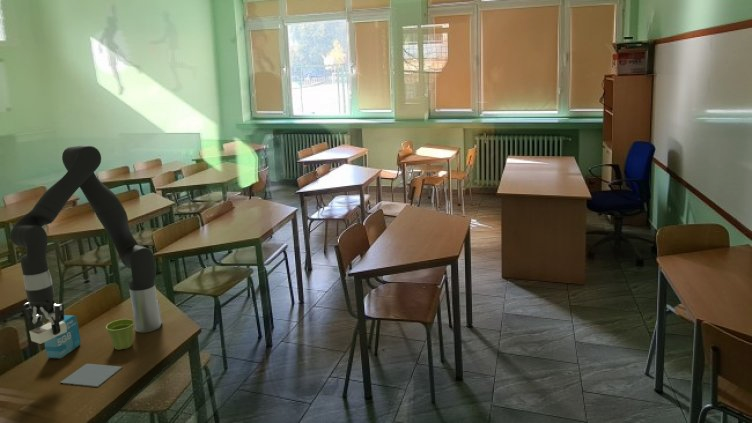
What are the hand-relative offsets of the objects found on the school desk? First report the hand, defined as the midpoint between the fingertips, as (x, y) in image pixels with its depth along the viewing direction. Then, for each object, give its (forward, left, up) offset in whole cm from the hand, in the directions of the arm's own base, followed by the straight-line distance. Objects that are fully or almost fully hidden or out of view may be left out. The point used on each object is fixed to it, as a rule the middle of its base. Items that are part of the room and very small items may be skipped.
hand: (48, 333), depth 181 cm
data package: (-14, -9, -15) cm, 22 cm away
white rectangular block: (0, 0, -1) cm, 1 cm away
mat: (-1, +13, -15) cm, 20 cm away
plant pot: (-21, +10, -15) cm, 28 cm away
